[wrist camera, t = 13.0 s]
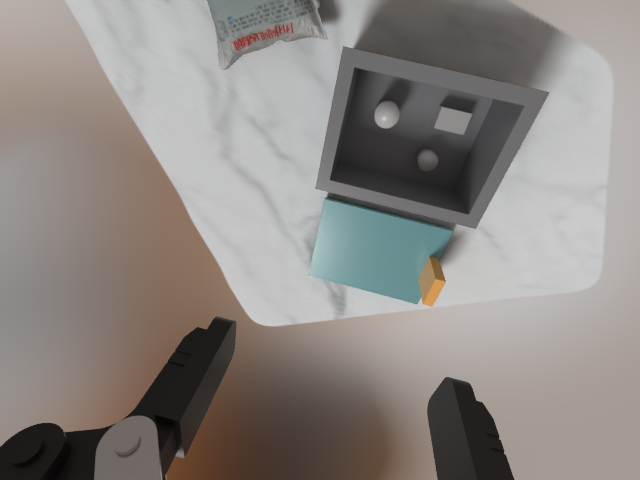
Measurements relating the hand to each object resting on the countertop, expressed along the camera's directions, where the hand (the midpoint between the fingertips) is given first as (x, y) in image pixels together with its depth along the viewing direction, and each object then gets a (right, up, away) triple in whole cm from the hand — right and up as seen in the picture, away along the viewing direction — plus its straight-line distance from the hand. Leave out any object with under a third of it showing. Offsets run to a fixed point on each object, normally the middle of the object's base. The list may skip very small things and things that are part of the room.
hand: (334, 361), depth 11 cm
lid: (+7, +3, +29) cm, 30 cm away
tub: (+9, +17, +21) cm, 29 cm away
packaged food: (-6, +28, +18) cm, 34 cm away
